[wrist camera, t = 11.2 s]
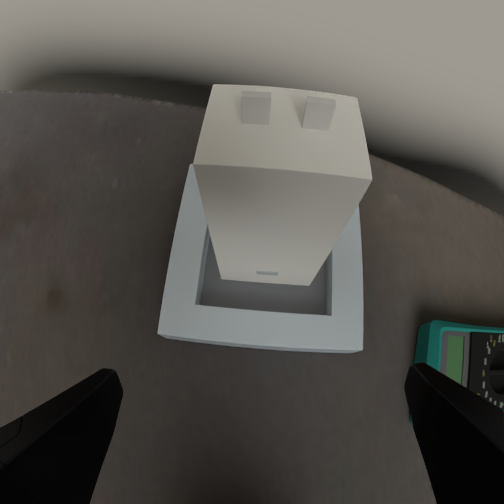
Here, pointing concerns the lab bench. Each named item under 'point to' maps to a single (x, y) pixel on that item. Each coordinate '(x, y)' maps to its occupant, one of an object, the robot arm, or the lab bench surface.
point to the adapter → (279, 179)
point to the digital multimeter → (465, 356)
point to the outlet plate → (260, 294)
